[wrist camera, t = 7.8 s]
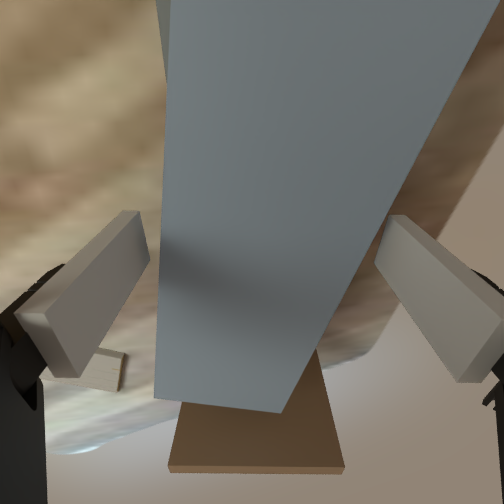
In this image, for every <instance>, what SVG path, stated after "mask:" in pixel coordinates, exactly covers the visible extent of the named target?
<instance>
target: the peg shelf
mask: <svg viewBox="0 0 504 504" xmlns="http://www.w3.org/2000/svg"><path fill="white" fill-rule="evenodd" d="M156 5H157V13H158V21H159V28H160V36H161V44H162V51H163V59H164V67H165V74H166V82H167V77H168V54H169V31H170V7H171V0H156ZM168 468H169V470H170V473H243V474H247V473H248V474H342V472H343V470H344V468H345V465H344V461H343V458H342V453H341V449H340V445H339V441H338V437H337V432H336V428H335V424H334V420H333V416H332V412H331V408H330V404H329V400H328V395H327V392H326V387H325V383H324V379H323V375H322V371H321V367H320V363H319V359H318V354H317V350H316V348H315V350H314V352H313V354H312V356H311V358H310V360H309V362H308V363H307V365H306V367H305V369H304V371H303V373H302V375H301V377H300V379H299V380H298V382H297V384H296V386H295V388H294V390H293V392H292V394H291V395H290V397H289V399H288V401H287V403H286V405H285V407H284V409H283V411H282V412H281V413H273V412H265V411H256V410H248V409H240V408H231V407H223V406H215V405H207V404H198V403H190V402H182V404H181V409H180V413H179V418H178V422H177V427H176V432H175V436H174V440H173V444H172V449H171V453H170V458H169V462H168Z"/></svg>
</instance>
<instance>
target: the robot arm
mask: <svg viewBox="0 0 504 504" xmlns="http://www.w3.org/2000/svg"><path fill="white" fill-rule="evenodd" d="M149 261H150V256H149V252H148V247H147V243H146V238H145V234H144V229H143V225H142V221H141V216H140V212H139V211H122V212H121V213H120V214H119V215H118V216H117V217H116V218H114V219H113V220H112V221H111V222H110V223H109V224H108V225H107V226H106V227H105V228H104V229H103V230H102V231H101V232H100V233H98V234H97V235H96V236H95V237H94V238H93V239H92V240H91V241H90V242H89V243H88V244H87V245H86V246H85V247H84V248H82V249H81V250H80V251H79V252H78V253H77V254H76V255H75V256H74V257H73V258H72V259H71V260H70V261H69V262H68V263H66V264H61V265H59V266H57V267H55V268H54V269H52V270H50V271H48V272H47V273H46V274H45V275H43V276H42V277H41V278H40V279H39V280H38V281H37V283H34V284H33V285H32V286H31V287H30V288H29V289H28V291H27V292H24V293H23V294H22V295H21V296H20V297H19V298H18V299H16V300H15V301H14V302H13V303H12V304H11V305H10V306H9V307H7V308H6V309H5V310H4V311H3V312H2V313H1V314H0V504H48V502H47V477H46V448H45V421H44V394H43V384H42V381H41V379H40V378H39V376H40V375H41V374H42V372H43V371H44V369H45V368H46V367H48V368H49V370H50V371H51V373H52V375H53V376H54V378H80V376H81V375H82V373H83V371H84V370H85V368H86V366H87V365H88V363H89V361H90V360H91V358H92V356H93V355H94V353H95V351H96V350H97V348H98V346H99V345H100V343H101V341H102V340H103V338H104V336H105V335H106V333H107V331H108V330H109V328H110V326H111V325H112V323H113V321H114V320H115V318H116V316H117V315H118V313H119V311H120V310H121V308H122V306H123V305H124V303H125V301H126V300H127V298H128V296H129V295H130V293H131V291H132V290H133V288H134V286H135V285H136V283H137V281H138V280H139V278H140V276H141V275H142V273H143V271H144V270H145V268H146V266H147V265H148V263H149ZM374 264H375V266H376V267H377V268H378V270H379V271H380V273H381V274H382V276H383V277H384V279H385V280H386V281H387V283H388V284H389V286H390V287H391V289H392V290H393V291H394V293H395V294H396V296H397V297H398V299H399V300H400V302H401V303H402V304H403V306H404V307H405V309H406V310H407V312H408V313H409V314H410V316H411V317H412V319H413V320H414V321H415V323H416V324H417V326H418V327H419V329H420V330H421V332H422V333H423V335H424V336H425V338H426V339H427V340H428V342H429V343H430V345H431V346H432V348H433V349H434V350H435V352H436V353H437V355H438V356H439V358H440V359H441V361H442V362H443V363H444V365H445V366H446V368H447V369H448V371H449V372H450V373H451V375H452V376H453V378H454V379H455V381H456V382H459V383H460V382H461V383H467V382H468V383H481V382H482V381H483V380H484V378H485V377H486V376H487V375H488V374H489V372H490V371H491V370H492V372H493V373H494V374H495V375H496V376H497V377H498V379H499V380H500V381H499V382H498V383H497V384H496V385H495V386H494V388H493V389H492V390H491V391H490V392H489V393H488V395H487V396H486V397H485V398H484V399H483V403H482V404H483V405H485V406H487V405H488V404H489V403H490V402H491V401H492V400H495V407H494V408H493V410H495V411H496V419H497V434H498V446H499V458H500V459H499V460H500V471H501V472H500V473H501V485H502V499H503V504H504V291H503V290H502V289H499V287H498V286H497V285H496V284H495V283H493V282H492V281H491V280H490V279H488V278H487V277H485V276H483V275H482V274H480V273H478V272H476V271H474V270H472V269H470V268H469V267H467V266H466V265H465V264H464V263H462V262H461V261H460V260H459V259H458V258H457V257H455V256H454V255H453V254H451V253H450V252H449V251H448V250H447V249H446V248H444V247H443V246H442V245H441V244H440V243H438V242H437V241H436V240H435V239H434V238H432V237H431V236H430V235H429V234H428V233H426V232H425V231H424V230H423V229H421V228H420V227H419V226H418V225H417V224H415V223H414V222H413V221H412V220H411V219H409V218H408V217H407V216H406V215H389V216H388V219H387V222H386V226H385V229H384V232H383V235H382V238H381V241H380V245H379V248H378V251H377V254H376V257H375V261H374Z"/></svg>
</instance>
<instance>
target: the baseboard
mask: <svg viewBox="0 0 504 504" xmlns="http://www.w3.org/2000/svg"><path fill="white" fill-rule="evenodd" d="M123 359H124V353H122V352H117V351H113V350H108V349H103V348H99V347H98V348H97V350H96V351H95V353H94V355H93V356H92V358H91V360H90V361H89V363H88V365H87V366H86V368H85V370H84V371H83V373H82V375H81V376H80V378H54V376H53V375H52V373H51V371H50V370H49V368H48V367H46V368H45V369H44V371H43V372H42V374H41V375H40V376H39V378H40V379H45V380H50V381H56V382H61V383H67V384H72V385H77V386H83V387H88V388H94V389H99V390H104V391H110V392H115V393H118V391H119V385H120V378H121V372H122V365H123Z"/></svg>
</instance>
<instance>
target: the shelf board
mask: <svg viewBox="0 0 504 504" xmlns="http://www.w3.org/2000/svg"><path fill="white" fill-rule="evenodd" d="M499 2H500V0H171V7H170V31H169V54H168V77H167V101H166V124H165V147H164V171H163V194H162V217H161V241H160V264H159V287H158V311H157V334H156V357H155V381H154V398H157V399H165V400H173V401H182V402H190V403H198V404H207V405H215V406H223V407H231V408H240V409H248V410H256V411H265V412H273V413H281V412H282V411H283V409H284V407H285V405H286V403H287V401H288V399H289V397H290V395H291V394H292V392H293V390H294V388H295V386H296V384H297V382H298V380H299V379H300V377H301V375H302V373H303V371H304V369H305V367H306V365H307V363H308V362H309V360H310V358H311V356H312V354H313V352H314V350H315V348H316V346H317V345H318V343H319V341H320V339H321V337H322V335H323V333H324V331H325V330H326V328H327V326H328V324H329V322H330V320H331V318H332V316H333V314H334V313H335V311H336V309H337V307H338V305H339V303H340V301H341V299H342V297H343V296H344V294H345V292H346V290H347V288H348V286H349V284H350V282H351V281H352V279H353V277H354V275H355V273H356V271H357V269H358V267H359V265H360V264H361V262H362V260H363V258H364V256H365V254H366V252H367V250H368V249H369V247H370V245H371V243H372V241H373V239H374V237H375V235H376V233H377V232H378V230H379V228H380V226H381V224H382V222H383V220H384V218H385V216H386V215H387V213H388V211H389V209H390V207H391V205H392V203H393V201H394V200H395V198H396V196H397V194H398V192H399V190H400V188H401V186H402V184H403V183H404V181H405V179H406V177H407V175H408V173H409V171H410V169H411V168H412V166H413V164H414V162H415V160H416V158H417V156H418V154H419V152H420V151H421V149H422V147H423V145H424V143H425V141H426V139H427V137H428V135H429V134H430V132H431V130H432V128H433V126H434V124H435V122H436V120H437V119H438V117H439V115H440V113H441V111H442V109H443V107H444V105H445V103H446V102H447V100H448V98H449V96H450V94H451V92H452V90H453V88H454V87H455V85H456V83H457V81H458V79H459V77H460V75H461V73H462V71H463V70H464V68H465V66H466V64H467V62H468V60H469V58H470V56H471V54H472V53H473V51H474V49H475V47H476V45H477V43H478V41H479V39H480V38H481V36H482V34H483V32H484V30H485V28H486V26H487V24H488V22H489V21H490V19H491V17H492V15H493V13H494V11H495V9H496V7H497V6H498V4H499Z"/></svg>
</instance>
